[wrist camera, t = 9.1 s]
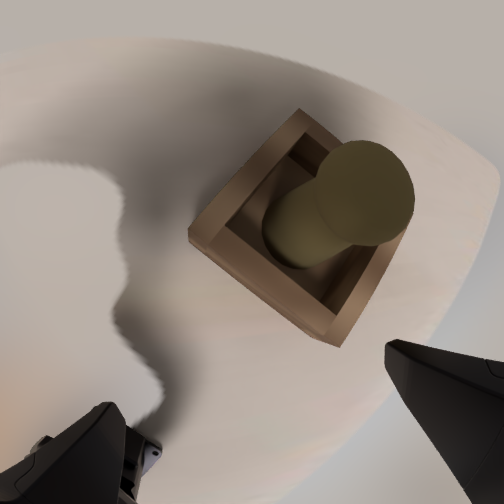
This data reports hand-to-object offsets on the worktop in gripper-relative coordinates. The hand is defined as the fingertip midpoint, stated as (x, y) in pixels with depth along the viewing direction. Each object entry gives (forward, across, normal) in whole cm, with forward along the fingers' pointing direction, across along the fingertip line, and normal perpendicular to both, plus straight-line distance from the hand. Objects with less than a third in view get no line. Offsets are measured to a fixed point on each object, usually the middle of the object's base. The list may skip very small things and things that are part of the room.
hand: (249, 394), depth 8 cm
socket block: (+15, -6, -2) cm, 16 cm away
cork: (+15, -6, -2) cm, 16 cm away
